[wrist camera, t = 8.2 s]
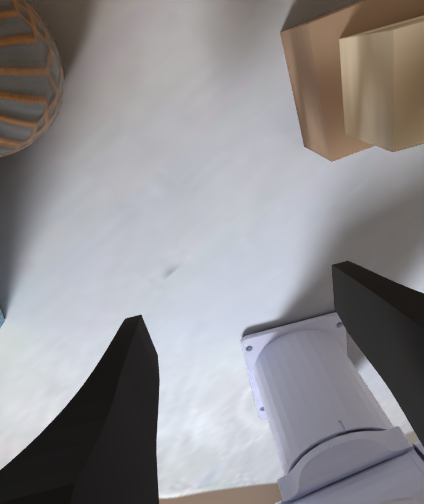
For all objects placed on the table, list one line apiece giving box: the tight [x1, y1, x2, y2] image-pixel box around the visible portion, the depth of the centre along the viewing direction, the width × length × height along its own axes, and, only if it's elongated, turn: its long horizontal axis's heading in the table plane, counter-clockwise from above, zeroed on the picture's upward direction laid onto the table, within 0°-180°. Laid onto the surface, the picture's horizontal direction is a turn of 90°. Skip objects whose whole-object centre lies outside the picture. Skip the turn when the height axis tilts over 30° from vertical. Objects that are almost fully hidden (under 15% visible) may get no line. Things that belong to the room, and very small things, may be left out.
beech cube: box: [339, 15, 424, 152], centre depth 14 cm, size 4×4×4 cm
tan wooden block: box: [280, 0, 424, 161], centre depth 18 cm, size 6×6×4 cm
